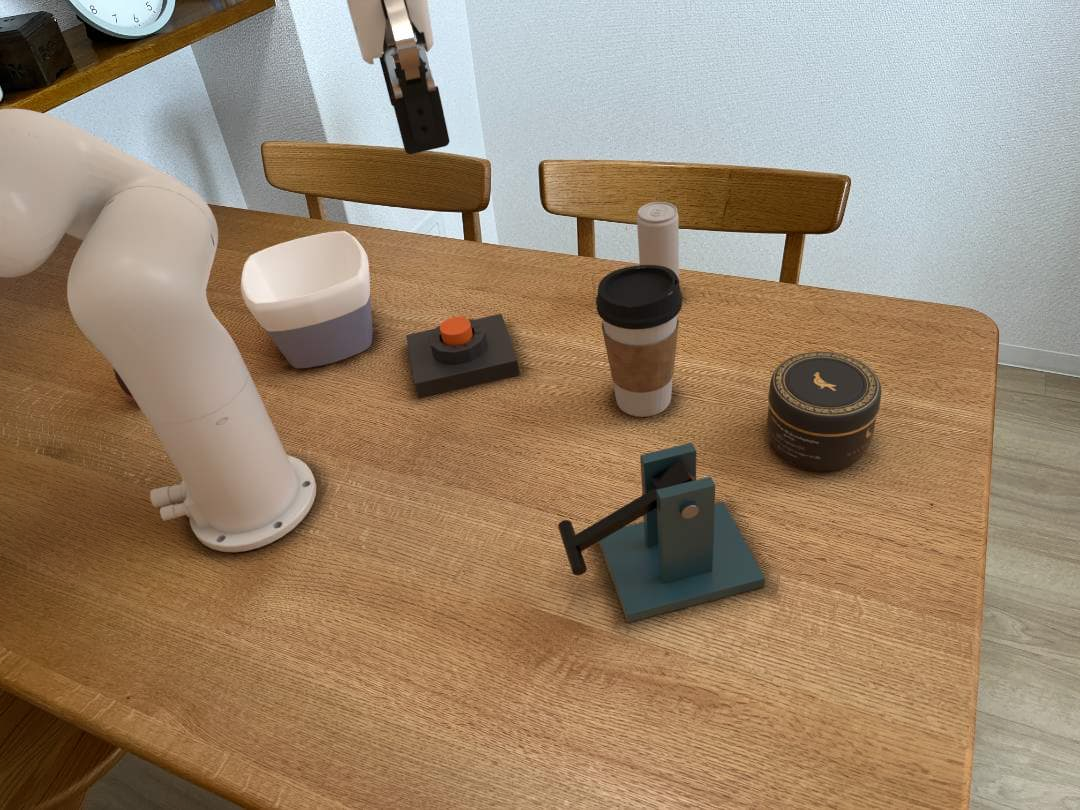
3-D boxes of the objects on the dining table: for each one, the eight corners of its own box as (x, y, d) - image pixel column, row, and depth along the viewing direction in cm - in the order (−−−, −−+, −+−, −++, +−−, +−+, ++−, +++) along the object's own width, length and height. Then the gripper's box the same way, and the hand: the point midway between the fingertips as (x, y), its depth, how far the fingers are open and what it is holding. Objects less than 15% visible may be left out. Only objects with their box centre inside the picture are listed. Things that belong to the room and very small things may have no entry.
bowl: (377, 294, 111) (356, 221, 103) (398, 355, 99) (375, 278, 92) (265, 325, 108) (235, 252, 101) (273, 392, 97) (240, 315, 89)
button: (444, 349, 93) (441, 337, 92) (440, 332, 96) (437, 320, 94) (475, 342, 93) (472, 330, 92) (470, 325, 96) (467, 313, 95)
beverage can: (684, 289, 103) (683, 203, 95) (672, 310, 99) (670, 223, 92) (647, 284, 104) (644, 199, 97) (635, 304, 101) (630, 218, 94)
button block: (418, 398, 92) (410, 371, 90) (410, 349, 100) (402, 322, 97) (520, 375, 93) (515, 347, 91) (504, 327, 101) (499, 301, 98)
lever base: (627, 623, 67) (619, 530, 59) (598, 541, 74) (587, 449, 66) (764, 587, 68) (774, 491, 60) (723, 510, 75) (727, 415, 67)
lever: (580, 581, 65) (565, 567, 64) (565, 535, 69) (551, 521, 67) (709, 506, 63) (697, 490, 61) (687, 463, 67) (675, 447, 65)
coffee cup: (680, 427, 84) (679, 307, 74) (599, 423, 86) (588, 305, 76) (685, 375, 90) (685, 258, 80) (610, 373, 92) (600, 258, 82)
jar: (839, 493, 74) (850, 433, 70) (745, 449, 80) (748, 390, 75) (889, 432, 80) (902, 372, 75) (796, 395, 85) (803, 336, 80)
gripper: (293, -150, 56) (361, 97, 67) (295, -118, 43) (380, 182, 54) (399, -170, 56) (450, 78, 67) (434, -145, 43) (489, 157, 54)
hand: (419, 124), depth 61 cm, fingers open, 9 cm apart
